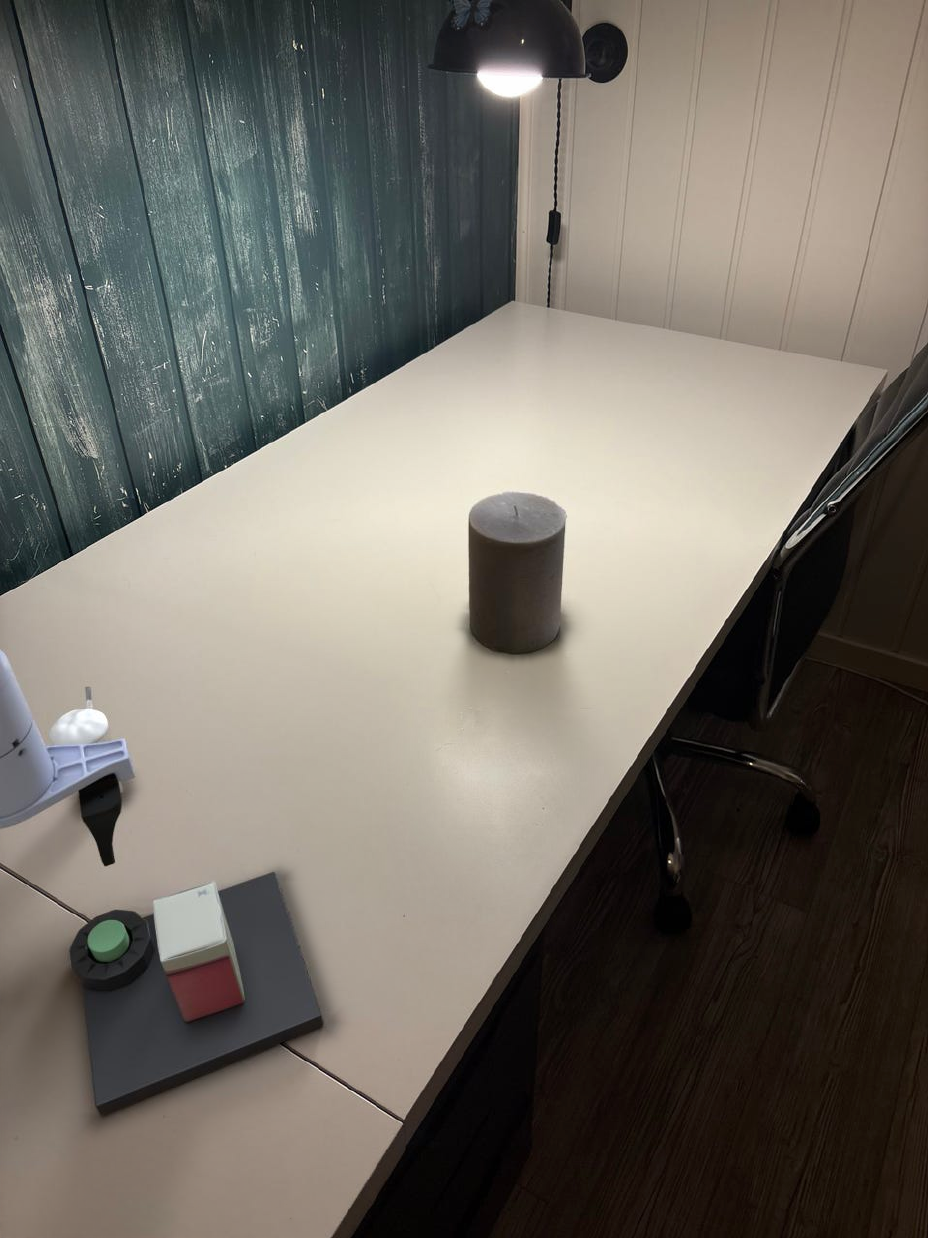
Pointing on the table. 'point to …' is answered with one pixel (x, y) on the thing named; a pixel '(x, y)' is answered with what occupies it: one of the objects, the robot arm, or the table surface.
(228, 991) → the small box
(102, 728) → the milkshake
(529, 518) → the pillar candle
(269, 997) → the scale
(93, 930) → the button
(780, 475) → the table surface
